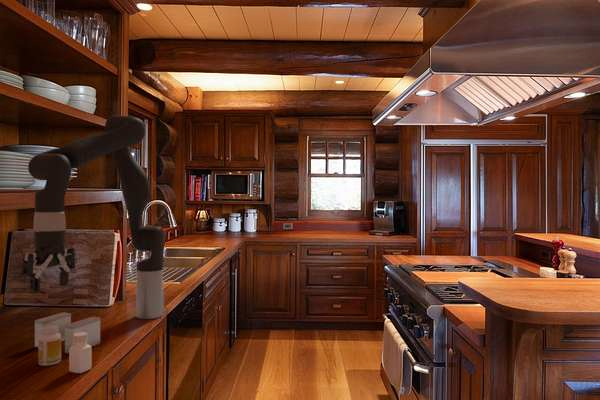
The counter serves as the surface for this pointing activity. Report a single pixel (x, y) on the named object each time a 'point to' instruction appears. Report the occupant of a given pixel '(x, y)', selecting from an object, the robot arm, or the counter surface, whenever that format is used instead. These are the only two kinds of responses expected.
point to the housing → (70, 328)
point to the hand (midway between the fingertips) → (49, 289)
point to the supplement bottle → (49, 346)
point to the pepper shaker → (80, 354)
